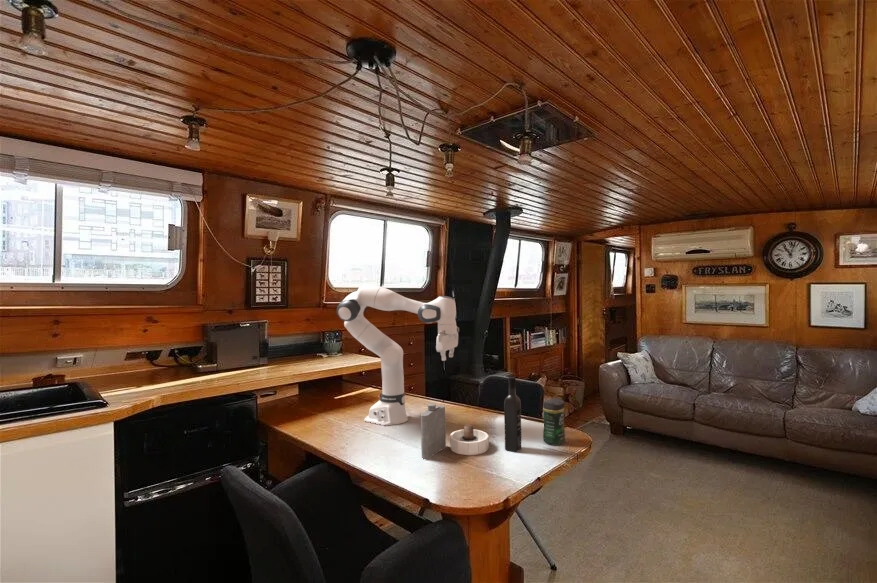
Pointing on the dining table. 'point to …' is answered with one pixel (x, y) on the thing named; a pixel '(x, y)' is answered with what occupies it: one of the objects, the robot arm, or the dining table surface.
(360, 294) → the robot arm
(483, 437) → the white ring base
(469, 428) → the walnut peg
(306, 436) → the dining table surface
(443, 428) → the hip flask
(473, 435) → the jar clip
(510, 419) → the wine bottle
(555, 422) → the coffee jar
